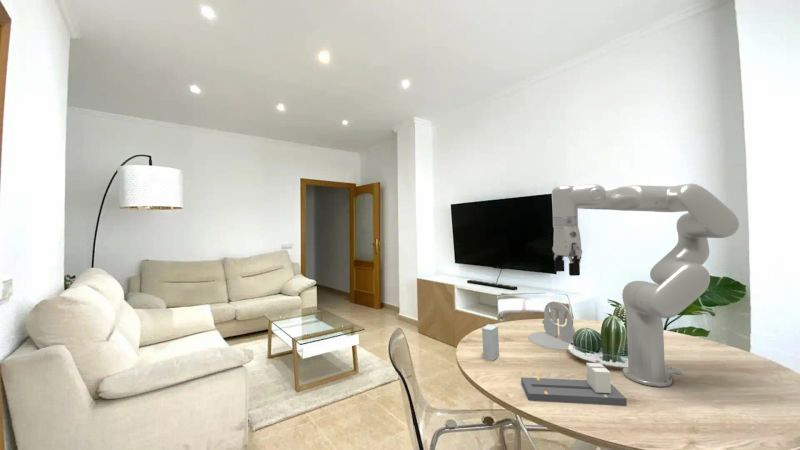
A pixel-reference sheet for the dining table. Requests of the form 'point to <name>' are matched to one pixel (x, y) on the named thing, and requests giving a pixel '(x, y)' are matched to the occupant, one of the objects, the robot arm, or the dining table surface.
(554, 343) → the ornament
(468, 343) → the dining table surface
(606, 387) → the fader tab
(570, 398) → the slider panel
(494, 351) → the skincare box
